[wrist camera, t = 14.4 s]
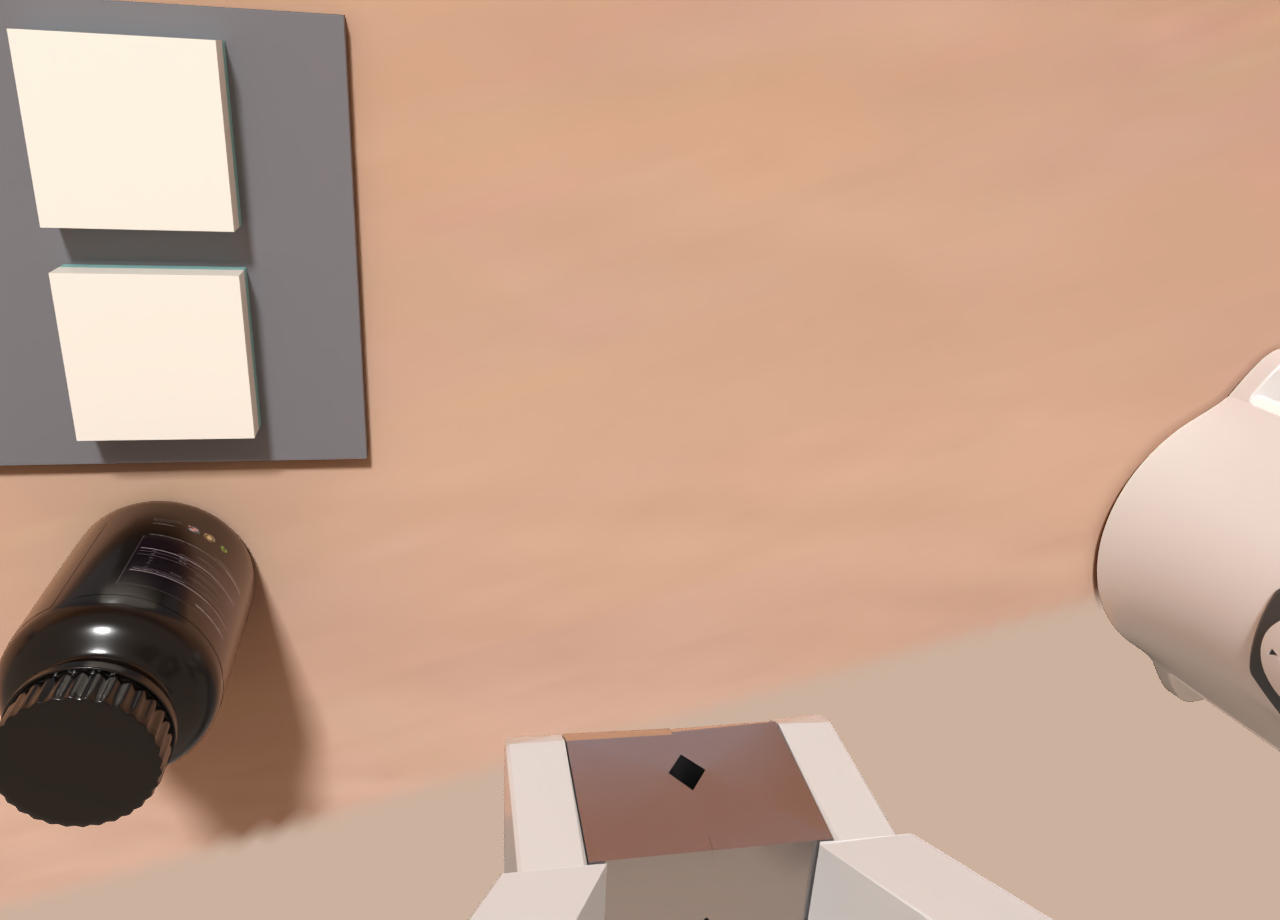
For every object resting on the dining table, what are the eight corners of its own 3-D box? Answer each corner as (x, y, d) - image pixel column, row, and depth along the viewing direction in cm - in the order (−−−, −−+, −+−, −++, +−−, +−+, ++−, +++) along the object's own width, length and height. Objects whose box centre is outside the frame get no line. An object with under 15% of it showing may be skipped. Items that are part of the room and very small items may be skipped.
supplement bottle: (193, 671, 42) (109, 891, 31) (40, 585, 40) (-111, 791, 29) (294, 557, 41) (243, 743, 30) (144, 460, 38) (28, 625, 28)
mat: (344, 15, 34) (343, 15, 33) (367, 452, 40) (366, 458, 39) (-194, -19, 31) (-205, -20, 30) (-81, 461, 37) (-89, 467, 36)
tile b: (215, 40, 32) (6, 28, 30) (234, 231, 34) (40, 227, 33) (224, 40, 33) (24, 29, 32) (242, 224, 35) (55, 220, 34)
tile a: (238, 275, 34) (48, 273, 33) (254, 438, 37) (76, 440, 36) (246, 266, 36) (63, 264, 35) (261, 424, 38) (90, 426, 37)
